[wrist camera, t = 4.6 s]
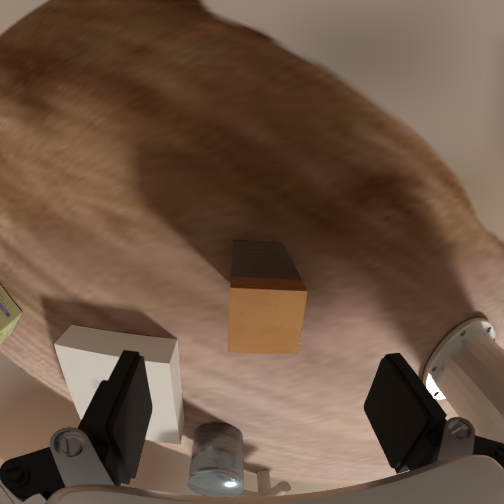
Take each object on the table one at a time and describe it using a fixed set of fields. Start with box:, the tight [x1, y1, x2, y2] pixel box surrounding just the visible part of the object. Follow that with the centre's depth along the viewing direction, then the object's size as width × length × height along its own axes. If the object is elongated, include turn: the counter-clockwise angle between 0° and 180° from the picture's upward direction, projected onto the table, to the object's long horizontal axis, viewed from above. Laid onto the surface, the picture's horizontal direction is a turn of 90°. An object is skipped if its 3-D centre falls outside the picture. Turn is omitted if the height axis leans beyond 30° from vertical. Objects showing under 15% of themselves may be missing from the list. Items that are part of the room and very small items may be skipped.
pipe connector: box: [233, 470, 291, 497], centre depth 30 cm, size 10×10×10 cm
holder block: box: [54, 325, 185, 444], centre depth 26 cm, size 12×12×4 cm
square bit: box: [228, 240, 308, 354], centre depth 20 cm, size 4×4×10 cm
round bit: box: [188, 422, 244, 497], centre depth 28 cm, size 6×6×8 cm
